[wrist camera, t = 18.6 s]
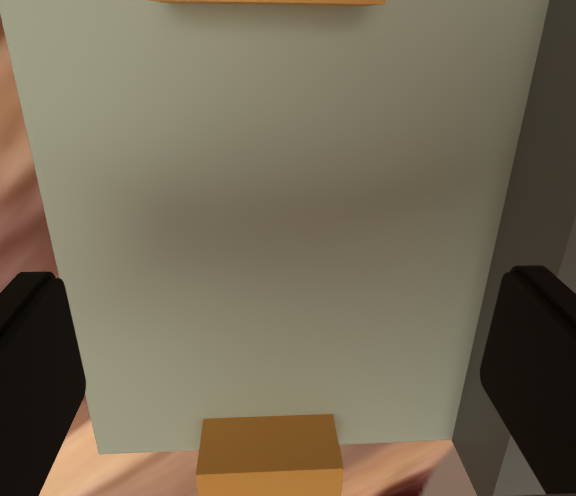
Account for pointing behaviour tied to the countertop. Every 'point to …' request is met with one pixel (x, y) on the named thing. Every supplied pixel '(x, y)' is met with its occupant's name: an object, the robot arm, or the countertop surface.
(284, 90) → the deck plate
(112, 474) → the countertop surface
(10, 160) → the countertop surface
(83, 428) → the countertop surface
